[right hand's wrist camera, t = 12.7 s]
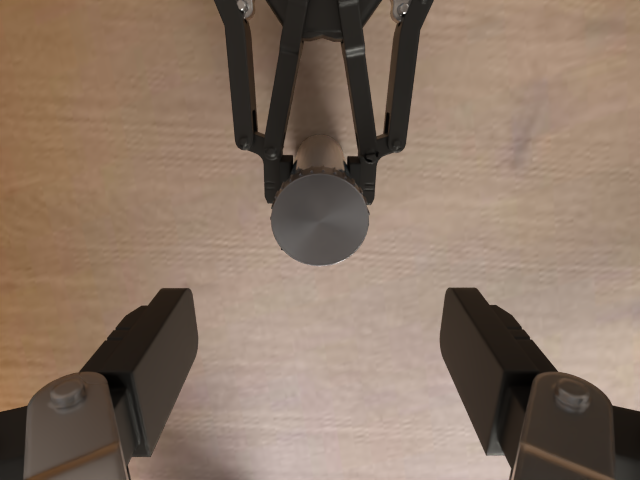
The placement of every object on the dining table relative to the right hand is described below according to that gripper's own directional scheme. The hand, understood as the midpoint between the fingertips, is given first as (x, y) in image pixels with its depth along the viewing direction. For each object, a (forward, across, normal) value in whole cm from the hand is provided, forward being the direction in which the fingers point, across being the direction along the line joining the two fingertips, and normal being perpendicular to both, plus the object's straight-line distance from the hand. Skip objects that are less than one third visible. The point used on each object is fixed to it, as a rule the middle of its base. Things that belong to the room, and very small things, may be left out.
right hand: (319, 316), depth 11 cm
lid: (+9, 0, 0) cm, 9 cm away
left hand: (+19, 0, -5) cm, 20 cm away
